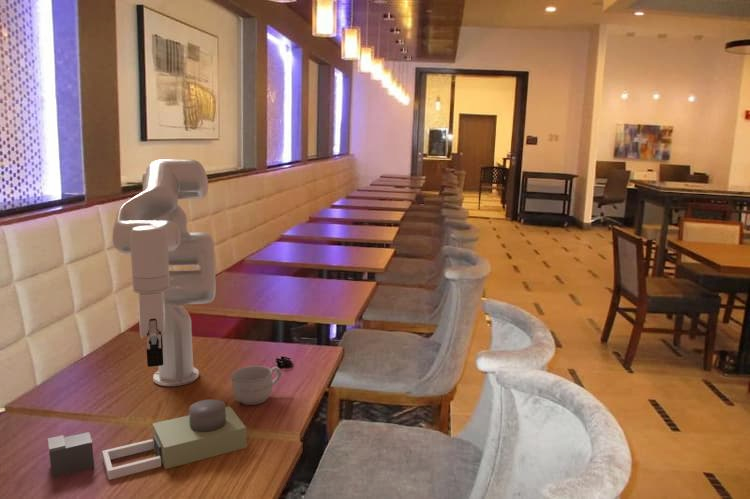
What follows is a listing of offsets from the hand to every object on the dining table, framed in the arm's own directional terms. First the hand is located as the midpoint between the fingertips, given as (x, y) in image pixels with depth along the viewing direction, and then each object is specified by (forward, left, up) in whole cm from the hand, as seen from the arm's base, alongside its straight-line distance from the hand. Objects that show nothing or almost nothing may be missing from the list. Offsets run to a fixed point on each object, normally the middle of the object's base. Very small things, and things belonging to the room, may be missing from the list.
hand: (155, 357), depth 134 cm
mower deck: (+4, +2, -21) cm, 22 cm away
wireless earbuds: (-30, +42, -22) cm, 56 cm away
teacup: (-12, +28, -22) cm, 37 cm away
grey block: (0, -18, -21) cm, 28 cm away
